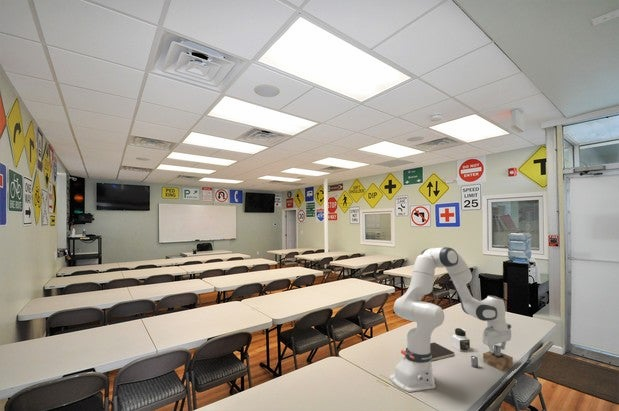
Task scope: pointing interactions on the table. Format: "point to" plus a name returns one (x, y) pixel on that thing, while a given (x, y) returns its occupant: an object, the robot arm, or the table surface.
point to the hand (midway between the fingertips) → (497, 350)
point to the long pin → (497, 351)
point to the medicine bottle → (460, 340)
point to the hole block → (498, 361)
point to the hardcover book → (439, 351)
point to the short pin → (474, 361)
